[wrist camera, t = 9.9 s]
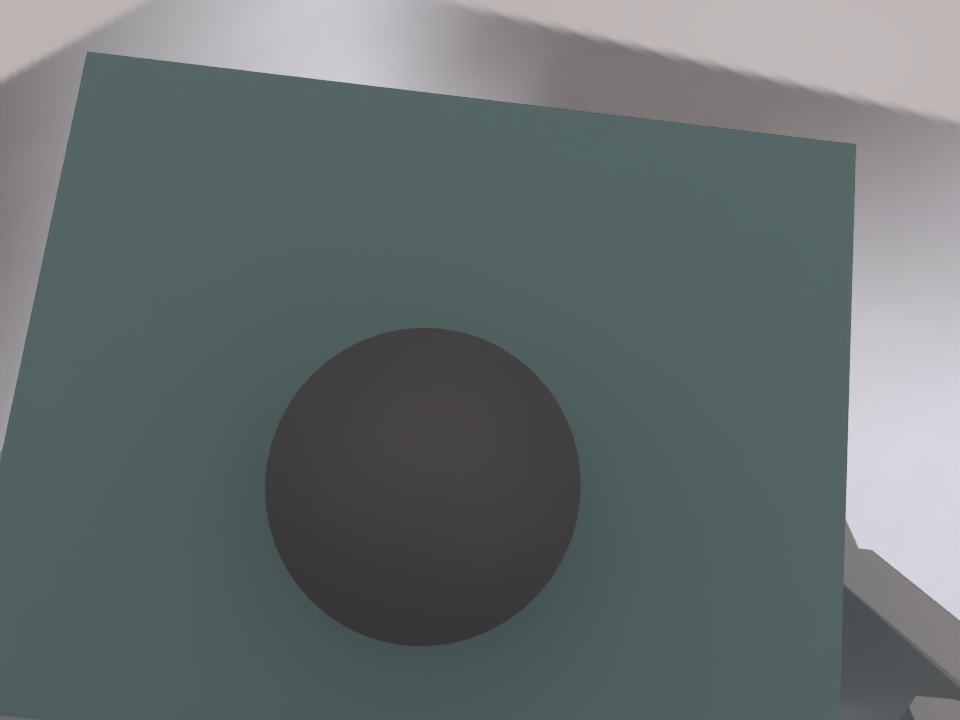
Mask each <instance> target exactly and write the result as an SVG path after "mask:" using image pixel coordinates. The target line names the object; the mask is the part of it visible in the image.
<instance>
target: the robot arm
mask: <svg viewBox="0 0 960 720" xmlns="http://www.w3.org/2000/svg"><path fill="white" fill-rule="evenodd" d="M1 455H2V451H1V452H0V459H1ZM0 720H39V719H29V718H19V717H10V716H0ZM840 720H960V621H959V620H958V619H957V618H956V617H954V616H953V615H952V614H951V613H949V612H948V611H947V610H946V609H944V608H943V607H942V606H941V605H939V604H938V603H937V602H936V601H935V600H933V599H932V598H931V597H930V596H928V595H927V594H926V593H925V592H923V591H922V590H921V589H920V588H918V587H917V586H916V585H915V584H913V583H912V582H911V581H910V580H908V579H907V578H906V577H905V576H903V575H902V574H901V573H900V572H898V571H897V570H896V569H895V568H893V567H892V566H891V565H890V564H888V563H887V562H886V561H885V560H884V559H882V558H881V557H880V556H879V555H877V554H876V553H875V552H874V551H872V550H866V549H859V547H858V545H857V543H856V541H855V539H854V536H853V534H852V532H851V530H850V528H849V525H848V523H847V521H846V519H845V550H844V586H843V621H842V657H841V693H840Z"/></svg>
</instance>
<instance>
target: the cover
mask: <svg viewBox="0 0 960 720" xmlns="http://www.w3.org/2000/svg"><path fill="white" fill-rule="evenodd" d="M855 156H856V144H848V143H840V142H832V141H824V140H815V139H807V138H799V137H790V136H782V135H774V134H765V133H757V132H749V131H741V130H732V129H724V128H716V127H707V126H699V125H691V124H683V123H674V122H666V121H658V120H649V119H641V118H633V117H625V116H616V115H608V114H600V113H591V112H583V111H575V110H567V109H558V108H550V107H542V106H533V105H525V104H517V103H508V102H500V101H492V100H484V99H475V98H467V97H459V96H450V95H442V94H434V93H426V92H417V91H409V90H401V89H392V88H384V87H376V86H368V85H359V84H351V83H343V82H334V81H326V80H318V79H310V78H301V77H293V76H285V75H276V74H268V73H260V72H251V71H243V70H235V69H227V68H218V67H210V66H202V65H193V64H185V63H177V62H169V61H160V60H152V59H144V58H135V57H127V56H119V55H111V54H102V53H94V52H87V56H86V60H85V65H84V70H83V74H82V79H81V84H80V88H79V93H78V98H77V103H76V107H75V112H74V117H73V121H72V126H71V131H70V135H69V140H68V145H67V149H66V154H65V159H64V164H63V168H62V173H61V178H60V182H59V187H58V192H57V196H56V201H55V206H54V210H53V215H52V220H51V225H50V229H49V234H48V239H47V243H46V248H45V253H44V257H43V262H42V267H41V272H40V276H39V281H38V286H37V290H36V295H35V300H34V304H33V309H32V314H31V318H30V323H29V328H28V333H27V337H26V342H25V347H24V351H23V356H22V361H21V365H20V370H19V375H18V379H17V384H16V389H15V394H14V398H13V403H12V408H11V412H10V417H9V422H8V426H7V431H6V436H5V441H4V445H3V450H2V455H1V459H0V716H10V717H19V718H29V719H39V720H840V693H841V657H842V621H843V586H844V550H845V514H846V478H847V442H848V407H849V371H850V335H851V299H852V264H853V228H854V192H855Z"/></svg>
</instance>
